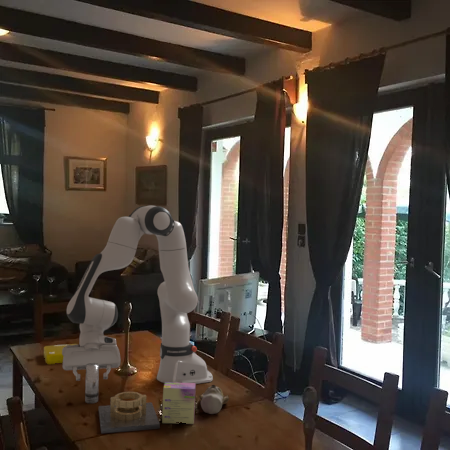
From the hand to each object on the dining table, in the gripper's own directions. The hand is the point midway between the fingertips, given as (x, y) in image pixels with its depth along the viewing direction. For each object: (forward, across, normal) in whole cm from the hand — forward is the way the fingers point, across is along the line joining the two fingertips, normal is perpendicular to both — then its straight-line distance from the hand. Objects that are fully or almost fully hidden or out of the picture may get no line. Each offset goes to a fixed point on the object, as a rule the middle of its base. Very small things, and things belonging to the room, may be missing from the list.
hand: (92, 379), depth 188 cm
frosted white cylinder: (+5, 0, +6) cm, 8 cm away
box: (+21, +27, -9) cm, 36 cm away
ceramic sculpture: (+15, +41, -4) cm, 44 cm away
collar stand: (+18, +11, -7) cm, 22 cm away
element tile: (-32, -11, +44) cm, 55 cm away
